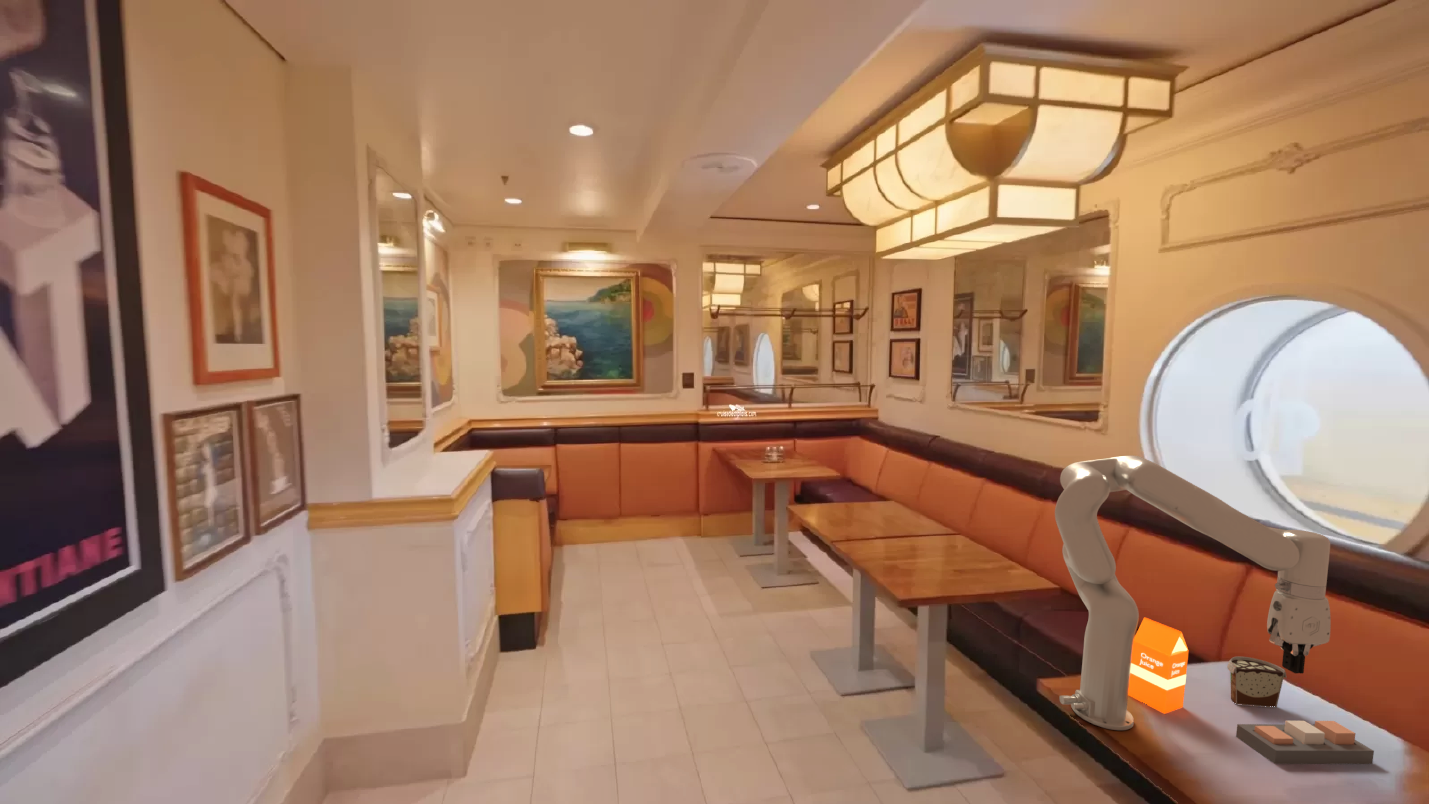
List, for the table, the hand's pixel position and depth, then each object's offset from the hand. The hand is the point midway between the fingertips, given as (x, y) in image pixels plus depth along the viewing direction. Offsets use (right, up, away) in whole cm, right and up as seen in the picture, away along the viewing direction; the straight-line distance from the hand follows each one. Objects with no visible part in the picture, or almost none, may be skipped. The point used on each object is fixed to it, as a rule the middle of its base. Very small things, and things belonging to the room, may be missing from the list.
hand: (1292, 670), depth 131 cm
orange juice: (-16, -17, +19) cm, 30 cm away
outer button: (+11, -17, +2) cm, 21 cm away
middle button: (+4, -17, +2) cm, 18 cm away
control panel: (+4, -19, +2) cm, 19 cm away
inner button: (-3, -18, +2) cm, 18 cm away
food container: (+9, -17, +22) cm, 29 cm away
